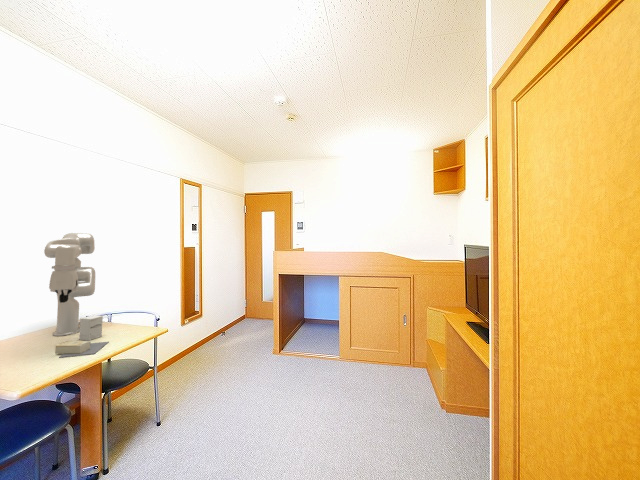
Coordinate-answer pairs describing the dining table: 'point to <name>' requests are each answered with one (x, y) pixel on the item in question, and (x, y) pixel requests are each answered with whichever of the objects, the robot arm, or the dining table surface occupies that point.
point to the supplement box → (90, 327)
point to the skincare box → (72, 347)
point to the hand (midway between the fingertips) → (63, 301)
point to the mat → (93, 349)
